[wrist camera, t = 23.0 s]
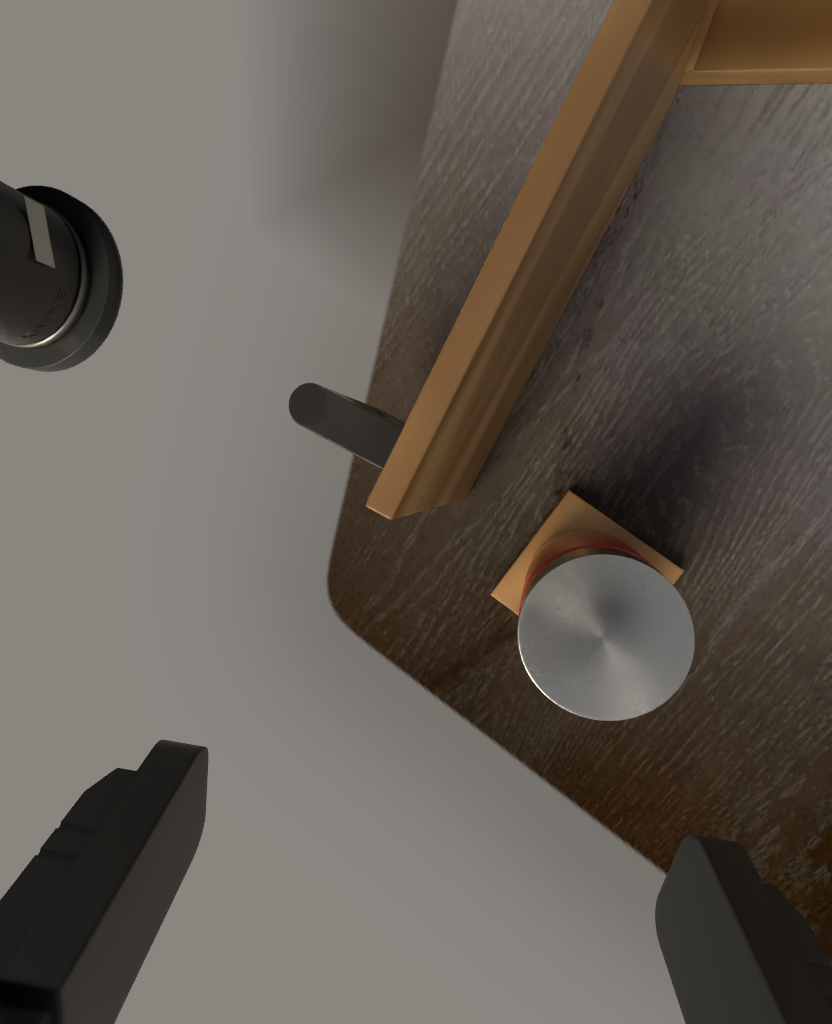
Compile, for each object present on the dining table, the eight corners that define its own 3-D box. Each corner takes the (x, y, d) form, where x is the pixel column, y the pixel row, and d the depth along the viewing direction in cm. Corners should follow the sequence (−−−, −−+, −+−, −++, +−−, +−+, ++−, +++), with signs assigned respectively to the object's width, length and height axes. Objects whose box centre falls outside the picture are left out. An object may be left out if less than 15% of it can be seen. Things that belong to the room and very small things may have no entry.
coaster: (491, 592, 32) (490, 594, 31) (568, 489, 30) (569, 490, 30) (597, 672, 31) (598, 675, 30) (682, 569, 29) (684, 571, 29)
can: (501, 578, 31) (481, 625, 21) (589, 503, 30) (612, 516, 20) (578, 665, 30) (595, 756, 20) (672, 592, 29) (737, 652, 19)
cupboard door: (369, 448, 32) (213, 423, 17) (558, 59, 29) (574, -407, 14) (465, 498, 31) (390, 520, 16) (673, 102, 28) (829, -350, 13)
